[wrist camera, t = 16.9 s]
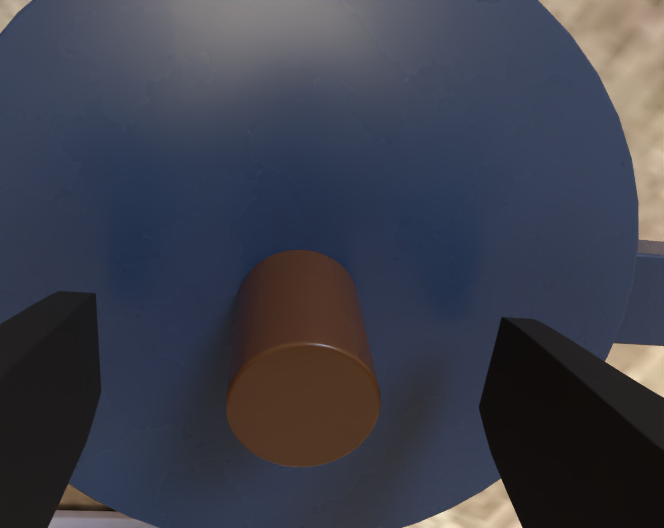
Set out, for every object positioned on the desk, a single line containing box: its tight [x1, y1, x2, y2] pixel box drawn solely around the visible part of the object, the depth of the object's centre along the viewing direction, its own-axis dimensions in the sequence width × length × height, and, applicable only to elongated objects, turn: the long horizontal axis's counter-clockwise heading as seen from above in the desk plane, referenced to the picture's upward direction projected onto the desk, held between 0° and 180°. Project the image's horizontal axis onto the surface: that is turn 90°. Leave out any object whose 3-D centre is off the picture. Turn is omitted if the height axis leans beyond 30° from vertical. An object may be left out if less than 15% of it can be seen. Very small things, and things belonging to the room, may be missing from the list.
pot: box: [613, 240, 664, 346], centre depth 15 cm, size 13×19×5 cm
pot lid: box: [0, 0, 639, 528], centre depth 12 cm, size 14×14×4 cm
